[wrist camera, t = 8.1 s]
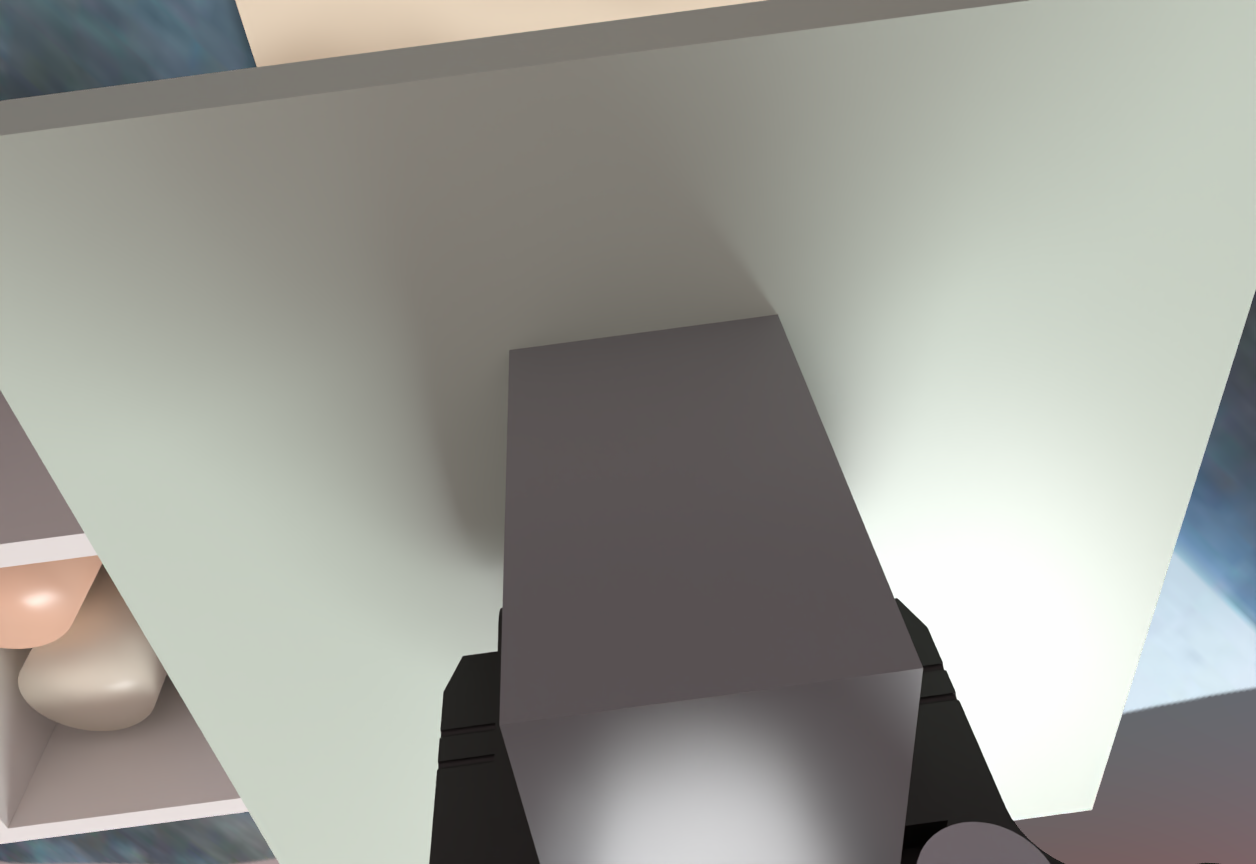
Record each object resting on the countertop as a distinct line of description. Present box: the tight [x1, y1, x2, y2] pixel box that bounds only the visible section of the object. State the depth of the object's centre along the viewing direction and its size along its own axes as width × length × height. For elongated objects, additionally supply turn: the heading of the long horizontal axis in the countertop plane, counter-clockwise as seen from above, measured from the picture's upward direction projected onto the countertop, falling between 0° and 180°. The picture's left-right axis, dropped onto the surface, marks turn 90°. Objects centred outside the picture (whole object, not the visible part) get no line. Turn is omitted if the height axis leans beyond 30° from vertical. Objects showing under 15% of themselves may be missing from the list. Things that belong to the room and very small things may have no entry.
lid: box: [0, 0, 1256, 864], centre depth 12 cm, size 14×14×7 cm
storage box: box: [0, 390, 249, 844], centre depth 33 cm, size 13×13×9 cm
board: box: [235, 0, 765, 67], centre depth 29 cm, size 18×18×1 cm
